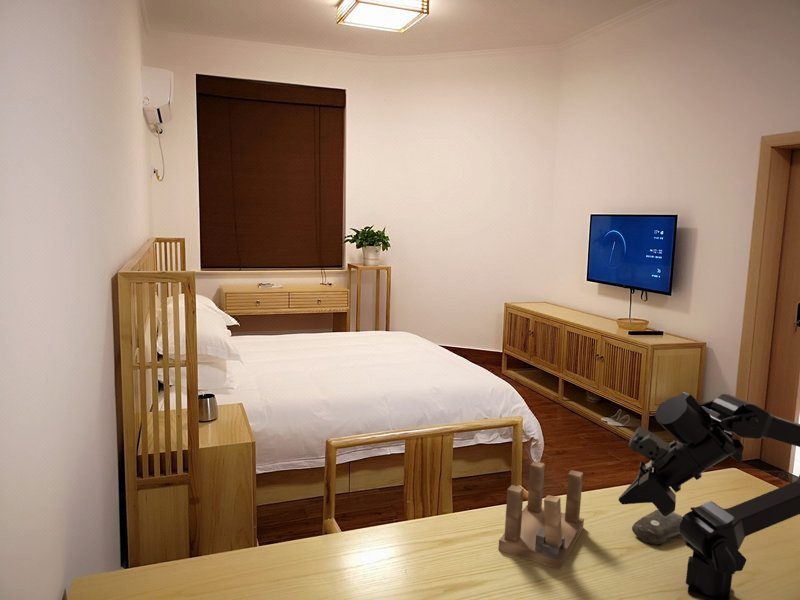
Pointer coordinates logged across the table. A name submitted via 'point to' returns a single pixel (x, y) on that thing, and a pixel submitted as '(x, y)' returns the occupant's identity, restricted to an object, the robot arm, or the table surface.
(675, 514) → the stone
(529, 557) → the stool seat
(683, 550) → the table surface
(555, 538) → the folding leg
